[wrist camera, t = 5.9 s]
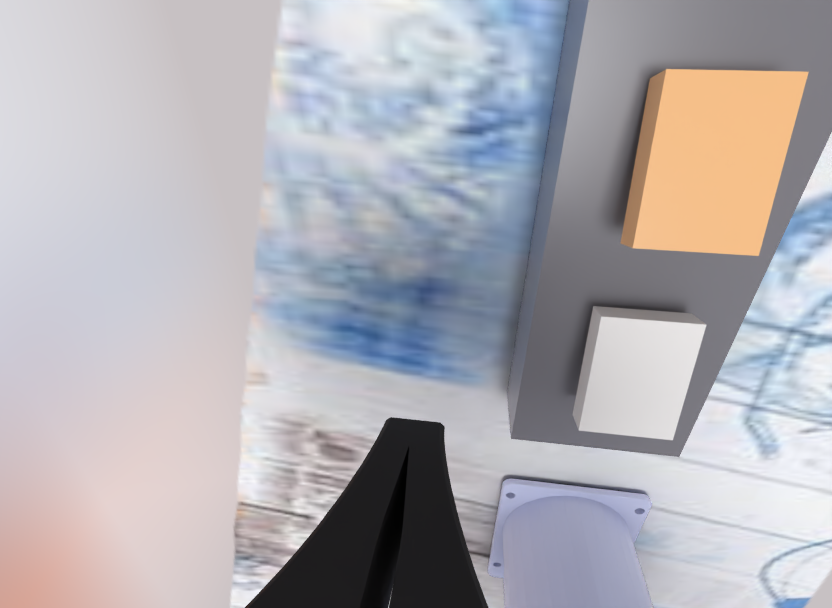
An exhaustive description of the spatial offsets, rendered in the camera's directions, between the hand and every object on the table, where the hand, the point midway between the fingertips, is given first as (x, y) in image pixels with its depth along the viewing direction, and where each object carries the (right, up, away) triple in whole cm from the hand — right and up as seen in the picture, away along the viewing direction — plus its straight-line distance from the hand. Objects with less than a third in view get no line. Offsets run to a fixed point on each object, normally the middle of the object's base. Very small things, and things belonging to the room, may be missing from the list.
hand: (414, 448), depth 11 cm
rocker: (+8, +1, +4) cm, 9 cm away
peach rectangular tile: (+8, +7, +1) cm, 11 cm away
